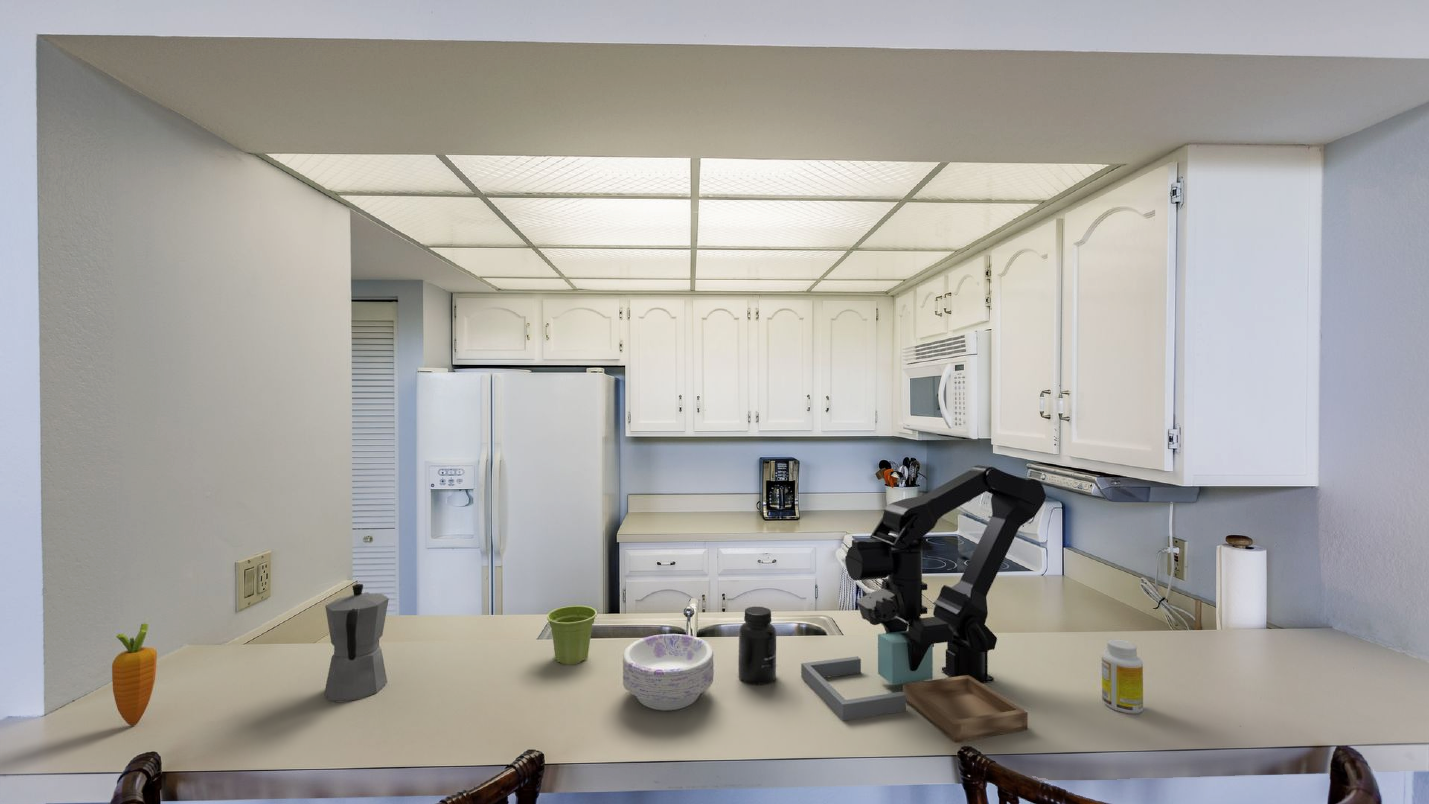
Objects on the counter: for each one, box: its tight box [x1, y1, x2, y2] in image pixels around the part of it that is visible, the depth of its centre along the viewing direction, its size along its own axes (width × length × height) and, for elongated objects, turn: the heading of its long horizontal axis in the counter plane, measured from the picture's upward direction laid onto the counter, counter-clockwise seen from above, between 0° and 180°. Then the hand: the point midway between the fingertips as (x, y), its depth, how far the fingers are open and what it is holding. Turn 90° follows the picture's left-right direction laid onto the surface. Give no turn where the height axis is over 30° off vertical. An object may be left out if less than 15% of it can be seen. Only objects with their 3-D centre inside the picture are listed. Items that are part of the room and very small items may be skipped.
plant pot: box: [546, 605, 598, 666], centre depth 113 cm, size 9×9×9 cm
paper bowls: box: [622, 633, 715, 712], centre depth 98 cm, size 15×15×8 cm
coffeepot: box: [324, 583, 389, 703], centre depth 100 cm, size 15×9×18 cm, turn 25°
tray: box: [902, 675, 1029, 743], centre depth 93 cm, size 13×13×3 cm
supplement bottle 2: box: [1101, 638, 1144, 715], centre depth 96 cm, size 6×6×10 cm
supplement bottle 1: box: [737, 606, 777, 685], centre depth 106 cm, size 7×7×12 cm
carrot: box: [111, 622, 158, 726], centre depth 89 cm, size 5×5×15 cm
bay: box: [800, 655, 907, 722], centre depth 100 cm, size 11×15×2 cm
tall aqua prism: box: [877, 630, 935, 686], centre depth 103 cm, size 9×4×7 cm, turn 106°
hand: (905, 664), depth 103 cm, fingers closed on tall aqua prism, 4 cm apart
